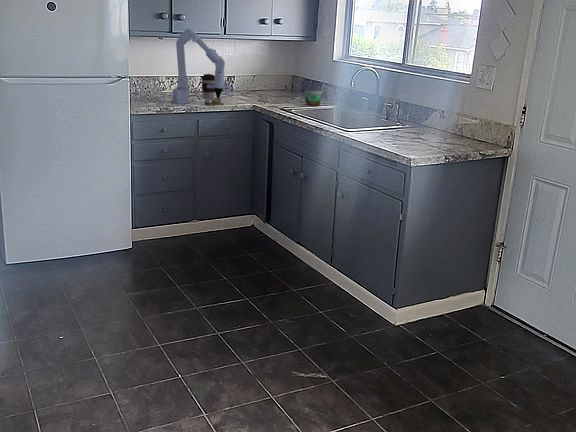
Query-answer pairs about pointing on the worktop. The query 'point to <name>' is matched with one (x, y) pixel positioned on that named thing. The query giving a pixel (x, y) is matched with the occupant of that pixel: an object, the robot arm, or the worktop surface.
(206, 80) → the coffee cup
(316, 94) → the food container
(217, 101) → the bar
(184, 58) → the robot arm
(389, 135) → the worktop surface
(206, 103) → the plate
